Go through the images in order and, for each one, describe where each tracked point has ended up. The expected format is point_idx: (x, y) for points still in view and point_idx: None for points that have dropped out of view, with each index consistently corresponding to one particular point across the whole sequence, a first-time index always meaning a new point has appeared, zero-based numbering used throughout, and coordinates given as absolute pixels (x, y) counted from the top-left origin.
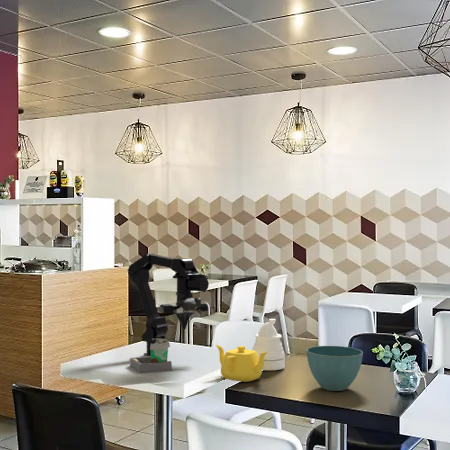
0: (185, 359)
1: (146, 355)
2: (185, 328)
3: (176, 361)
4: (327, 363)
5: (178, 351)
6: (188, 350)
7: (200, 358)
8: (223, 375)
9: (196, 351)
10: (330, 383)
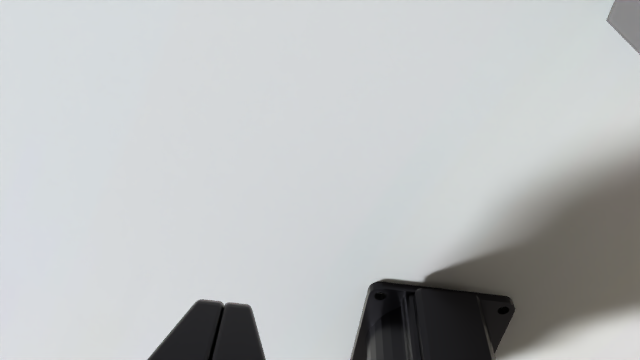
0: (251, 47)
1: (500, 335)
2: (187, 314)
3: (399, 5)
4: None
5: None
6: (78, 339)
7: (59, 4)
8: None
9: (17, 286)
10: None
